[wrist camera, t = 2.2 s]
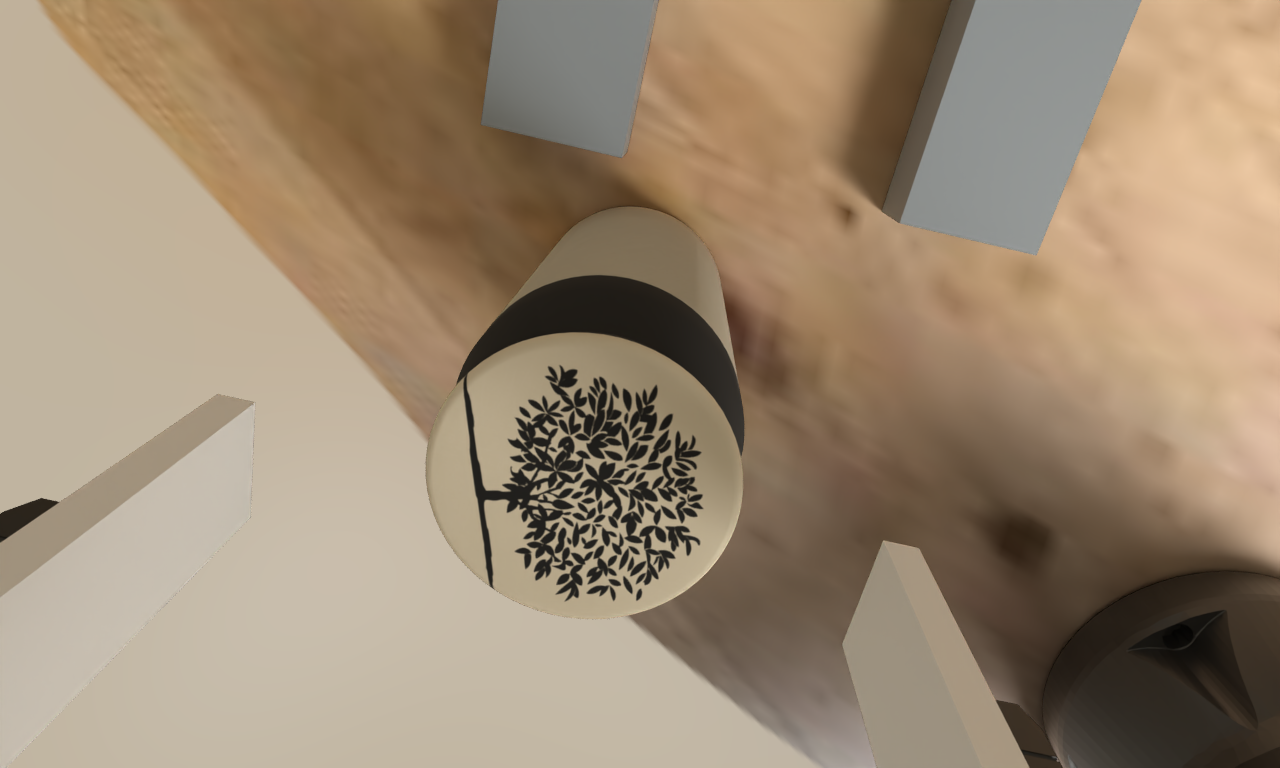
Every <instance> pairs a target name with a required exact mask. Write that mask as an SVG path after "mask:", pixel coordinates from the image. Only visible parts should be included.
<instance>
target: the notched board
mask: <svg viewBox="0 0 1280 768" xmlns="http://www.w3.org/2000/svg"><path fill="white" fill-rule="evenodd" d="M658 1H659V0H498V5H497V12H496V19H495V26H494V34H493V41H492V48H491V55H490V62H489V69H488V77H487V84H486V91H485V98H484V105H483V112H482V120H481V125H484V126H488V127H492V128H496V129H501V130H505V131H509V132H513V133H518V134H522V135H526V136H530V137H535V138H539V139H543V140H547V141H552V142H556V143H560V144H564V145H569V146H573V147H577V148H581V149H586V150H590V151H594V152H599V153H603V154H607V155H611V156H616V157H620V158H622V157H623V156H624V155H625V154H626V153H627V150H628V146H629V141H630V136H631V131H632V126H633V122H634V117H635V112H636V107H637V102H638V97H639V93H640V88H641V83H642V78H643V73H644V69H645V64H646V59H647V54H648V49H649V44H650V40H651V35H652V30H653V25H654V20H655V15H656V11H657V6H658ZM1140 2H1141V0H951V3H950V6H949V9H948V12H947V15H946V18H945V21H944V24H943V27H942V30H941V33H940V36H939V39H938V42H937V45H936V49H935V52H934V55H933V58H932V61H931V64H930V67H929V70H928V73H927V76H926V79H925V82H924V85H923V88H922V91H921V94H920V97H919V100H918V103H917V106H916V109H915V112H914V115H913V118H912V121H911V124H910V127H909V130H908V133H907V136H906V139H905V142H904V145H903V148H902V151H901V154H900V157H899V160H898V163H897V166H896V169H895V172H894V175H893V178H892V181H891V184H890V187H889V190H888V193H887V196H886V199H885V202H884V205H883V209H882V212H883V213H885V214H886V215H888V216H889V217H891V218H892V219H894V220H895V221H897V222H898V223H901V224H905V225H909V226H913V227H918V228H922V229H926V230H930V231H935V232H939V233H943V234H947V235H952V236H956V237H960V238H965V239H969V240H973V241H977V242H982V243H986V244H990V245H994V246H999V247H1003V248H1007V249H1011V250H1016V251H1020V252H1024V253H1028V254H1033V255H1037V253H1038V250H1039V248H1040V245H1041V243H1042V241H1043V238H1044V236H1045V233H1046V231H1047V228H1048V226H1049V224H1050V221H1051V219H1052V216H1053V214H1054V211H1055V209H1056V207H1057V204H1058V202H1059V199H1060V197H1061V194H1062V192H1063V190H1064V187H1065V185H1066V182H1067V180H1068V177H1069V175H1070V173H1071V170H1072V168H1073V165H1074V163H1075V160H1076V158H1077V156H1078V153H1079V151H1080V148H1081V146H1082V143H1083V141H1084V139H1085V136H1086V134H1087V131H1088V129H1089V126H1090V124H1091V122H1092V119H1093V117H1094V114H1095V112H1096V109H1097V107H1098V105H1099V102H1100V100H1101V97H1102V95H1103V92H1104V90H1105V88H1106V85H1107V83H1108V80H1109V78H1110V75H1111V73H1112V71H1113V68H1114V66H1115V63H1116V61H1117V58H1118V56H1119V53H1120V51H1121V49H1122V46H1123V44H1124V41H1125V39H1126V36H1127V34H1128V32H1129V29H1130V27H1131V24H1132V22H1133V19H1134V17H1135V15H1136V12H1137V10H1138V7H1139V5H1140Z"/></svg>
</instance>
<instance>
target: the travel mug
mask: <svg viewBox="0 0 1280 768" xmlns="http://www.w3.org/2000/svg"><path fill="white" fill-rule="evenodd" d="M743 443H744V414H743V406H742V401H741V395H740V389H739V384H738V378H737V372H736V367H735V361H734V355H733V349H732V344H731V338H730V332H729V327H728V321H727V315H726V310H725V304H724V298H723V293H722V287H721V281H720V277H719V272H718V269H717V266H716V264H715V261H714V259H713V257H712V255H711V253H710V252H709V250H708V248H707V247H706V245H705V244H704V243H703V241H702V240H701V239H700V238H699V237H698V235H697V234H696V233H694V232H693V231H692V230H691V229H690V228H689V227H688V226H686V225H685V224H684V223H682V222H681V221H679V220H677V219H676V218H674V217H672V216H670V215H668V214H666V213H663V212H660V211H657V210H653V209H650V208H644V207H633V206H628V207H617V208H611V209H607V210H603V211H600V212H598V213H595V214H593V215H591V216H589V217H587V218H585V219H583V220H582V221H580V222H579V223H577V224H576V225H575V226H573V227H572V228H571V229H570V230H569V231H568V232H567V233H566V234H565V235H564V236H563V237H562V238H561V239H560V241H559V242H558V243H557V244H556V246H555V247H554V248H553V249H552V251H551V252H550V253H549V254H548V255H547V257H546V258H545V259H544V260H543V262H542V263H541V264H540V265H539V267H538V268H537V269H536V270H535V272H534V273H533V274H532V275H531V276H530V278H529V279H528V280H527V281H526V283H525V284H524V285H523V286H522V288H521V289H520V290H519V291H518V293H517V294H516V295H515V296H514V298H513V299H512V300H511V301H510V302H509V304H508V305H507V306H506V307H505V309H504V310H503V311H502V312H501V314H500V315H499V316H498V317H497V319H496V320H495V321H494V322H493V323H492V325H491V326H490V327H489V328H488V330H487V331H486V332H485V333H484V335H483V336H482V337H481V338H480V340H479V341H478V342H477V344H476V345H475V346H474V348H473V349H472V351H471V352H470V354H469V356H468V358H467V359H466V361H465V363H464V365H463V368H462V370H461V372H460V375H459V378H458V381H457V384H456V387H455V388H454V389H453V390H452V392H451V393H450V394H449V396H448V397H447V399H446V400H445V402H444V404H443V405H442V407H441V409H440V411H439V413H438V415H437V417H436V419H435V422H434V425H433V428H432V431H431V434H430V438H429V442H428V447H427V455H426V483H427V491H428V495H429V500H430V504H431V507H432V510H433V513H434V516H435V519H436V521H437V523H438V525H439V528H440V530H441V531H442V533H443V535H444V537H445V539H446V540H447V542H448V544H449V545H450V546H451V548H452V549H453V551H454V552H455V554H456V555H457V556H458V557H459V558H460V559H461V561H462V562H463V563H464V564H465V565H466V566H467V567H468V568H469V569H470V570H471V571H472V572H473V573H474V574H475V575H476V576H477V577H479V578H480V579H481V580H482V581H483V582H485V583H486V584H487V585H489V586H490V587H492V588H493V589H495V590H496V591H497V592H499V593H501V594H503V595H504V596H506V597H508V598H509V599H511V600H513V601H516V602H518V603H520V604H522V605H524V606H527V607H530V608H532V609H535V610H538V611H541V612H545V613H549V614H553V615H558V616H563V617H570V618H578V619H605V618H615V617H622V616H627V615H632V614H636V613H639V612H643V611H646V610H649V609H652V608H654V607H657V606H659V605H661V604H664V603H665V602H667V601H669V600H671V599H673V598H675V597H677V596H678V595H680V594H681V593H683V592H684V591H686V590H687V589H689V588H690V587H691V586H692V585H694V584H695V583H696V582H698V581H699V580H700V579H701V578H702V577H703V576H704V575H705V574H706V573H707V572H708V571H709V570H710V568H711V567H712V566H713V565H714V564H715V563H716V561H717V560H718V559H719V557H720V556H721V554H722V553H723V551H724V550H725V548H726V546H727V544H728V542H729V541H730V539H731V537H732V534H733V532H734V529H735V527H736V524H737V521H738V517H739V514H740V509H741V503H742V497H743V468H742V462H741V455H742V450H743Z"/></svg>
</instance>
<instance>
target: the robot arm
mask: <svg viewBox="0 0 1280 768" xmlns="http://www.w3.org/2000/svg"><path fill="white" fill-rule="evenodd" d="M254 423H255V402H252V401H246V400H242V399H238V398H233V397H229V396H224V395H219V394H217V395H216V396H214V397H213V398H211V399H210V400H209V401H207V402H205V403H204V404H202V405H201V406H199V407H198V408H197V409H195V410H194V411H192V412H191V413H189V414H188V415H186V416H185V417H183V418H182V419H181V420H179V421H178V422H176V423H175V424H173V425H172V426H170V427H169V428H167V429H166V430H164V431H163V432H162V433H160V434H159V435H157V436H156V437H154V438H153V439H152V440H150V441H148V442H147V443H146V444H144V445H143V446H141V447H140V448H138V449H137V450H135V451H134V452H132V453H131V454H129V455H128V456H126V457H125V458H124V459H122V460H121V461H119V462H118V463H116V464H115V465H113V466H112V467H110V468H109V469H107V470H106V471H105V472H103V473H102V474H100V475H99V476H97V477H96V478H94V479H93V480H91V481H90V482H89V483H87V484H86V485H84V486H83V487H81V488H80V489H78V490H77V491H75V492H74V493H73V494H71V495H70V496H68V497H67V498H65V499H64V500H62V501H61V502H57V501H52V500H47V499H43V498H40V499H38V500H35V501H32V502H29V503H27V504H24V505H21V506H18V507H15V508H13V509H10V510H7V511H4V512H2V513H1V514H0V768H7V766H9V765H10V764H11V763H12V761H13V760H14V759H15V758H16V757H17V756H18V755H19V754H20V753H21V752H22V751H23V750H24V749H25V748H26V747H27V746H28V745H29V744H30V743H31V742H32V741H33V740H34V739H35V738H36V737H37V736H38V735H39V734H40V733H41V732H42V731H43V730H44V729H45V728H46V727H47V726H48V724H50V722H52V720H54V719H55V718H56V717H57V715H58V714H59V713H60V712H61V711H62V710H63V709H64V708H65V707H66V706H67V705H68V704H69V703H70V702H71V701H72V700H73V699H74V698H75V697H76V696H77V695H78V694H79V693H80V692H81V691H82V690H83V689H84V688H85V687H86V686H87V685H88V684H89V683H90V682H91V681H92V680H93V678H95V676H96V675H98V673H99V672H100V671H101V670H102V669H103V668H104V667H105V666H106V665H107V664H108V663H109V662H110V661H111V660H112V659H113V658H114V657H115V656H116V655H117V654H118V653H119V652H120V651H121V650H122V649H123V648H124V647H125V646H126V645H127V644H128V643H129V642H130V641H131V639H133V637H134V636H136V635H137V634H138V632H139V631H140V630H141V629H142V628H143V627H144V626H145V625H146V624H147V623H148V622H149V621H150V620H151V619H152V618H153V617H154V616H155V615H156V614H157V613H158V612H159V611H160V610H161V609H162V608H163V607H164V606H165V605H166V604H167V603H168V602H169V601H170V600H171V598H173V597H174V596H175V595H176V594H177V592H178V591H180V589H181V588H182V587H183V586H184V585H185V584H186V583H187V582H188V581H189V580H190V579H191V578H192V577H193V576H194V575H195V574H196V573H197V572H198V571H199V570H200V569H201V568H202V567H203V566H204V565H205V564H206V563H207V562H208V561H209V560H210V558H212V556H214V555H215V554H216V552H218V551H219V550H220V548H221V547H222V546H223V545H224V544H225V543H226V542H227V541H228V540H229V539H230V538H231V537H232V536H233V535H234V534H235V533H236V532H237V531H238V530H239V529H240V528H241V527H242V526H243V525H244V524H245V523H246V522H247V521H248V520H249V519H250V518H251V498H252V497H251V496H252V473H253V448H254ZM842 646H843V649H844V653H845V657H846V660H847V664H848V667H849V671H850V674H851V678H852V681H853V685H854V688H855V692H856V695H857V699H858V703H859V706H860V710H861V713H862V717H863V720H864V724H865V727H866V731H867V734H868V738H869V741H870V745H871V749H872V752H873V756H874V759H875V763H876V766H877V768H1280V579H1278V578H1274V577H1270V576H1266V575H1260V574H1255V573H1247V572H1232V571H1231V572H1206V573H1198V574H1192V575H1186V576H1181V577H1177V578H1173V579H1169V580H1166V581H1163V582H1159V583H1156V584H1154V585H1151V586H1148V587H1146V588H1143V589H1141V590H1139V591H1136V592H1134V593H1132V594H1130V595H1128V596H1126V597H1124V598H1122V599H1121V600H1119V601H1117V602H1115V603H1114V604H1112V605H1111V606H1109V607H1107V608H1106V609H1104V610H1103V611H1102V612H1100V613H1099V614H1098V615H1096V616H1095V617H1094V618H1093V619H1091V620H1090V621H1089V622H1088V623H1087V624H1086V625H1084V626H1083V627H1082V628H1081V629H1080V630H1079V631H1078V632H1077V633H1076V634H1075V636H1074V637H1073V638H1072V639H1071V640H1070V641H1069V643H1068V644H1067V645H1066V646H1065V648H1064V649H1063V651H1062V652H1061V654H1060V655H1059V657H1058V658H1057V660H1056V662H1055V664H1054V666H1053V668H1052V670H1051V672H1050V675H1049V677H1048V680H1047V683H1046V687H1045V691H1044V696H1043V722H1044V727H1045V731H1046V734H1047V737H1048V740H1049V741H1048V740H1047V738H1046V736H1045V734H1044V732H1043V731H1042V729H1041V728H1040V727H1039V726H1038V725H1037V724H1036V723H1035V722H1034V721H1033V720H1032V719H1031V718H1030V717H1029V716H1028V715H1027V714H1026V713H1025V711H1024V710H1023V709H1022V708H1021V707H1020V706H1019V705H1017V704H1013V703H1008V702H1003V701H999V700H995V698H994V696H993V694H992V692H991V690H990V688H989V686H988V684H987V682H986V680H985V678H984V676H983V674H982V672H981V670H980V668H979V666H978V664H977V662H976V661H975V659H974V657H973V655H972V653H971V651H970V649H969V647H968V645H967V643H966V641H965V639H964V637H963V635H962V633H961V631H960V629H959V627H958V625H957V623H956V621H955V619H954V617H953V615H952V613H951V611H950V609H949V607H948V605H947V603H946V601H945V599H944V597H943V595H942V593H941V591H940V589H939V587H938V585H937V583H936V581H935V579H934V577H933V575H932V573H931V571H930V569H929V567H928V565H927V563H926V561H925V559H924V557H923V555H922V553H921V551H920V549H919V548H916V547H912V546H907V545H903V544H898V543H894V542H889V541H884V540H883V542H882V545H881V547H880V550H879V552H878V555H877V557H876V560H875V563H874V565H873V568H872V570H871V573H870V575H869V578H868V580H867V583H866V585H865V588H864V590H863V593H862V595H861V598H860V600H859V603H858V605H857V608H856V611H855V613H854V616H853V618H852V621H851V623H850V626H849V628H848V631H847V633H846V636H845V638H844V641H843V643H842ZM1049 742H1050V743H1049ZM1050 744H1051V745H1050ZM1051 746H1052V747H1051ZM1052 748H1053V749H1052ZM1053 750H1054V751H1053ZM1055 753H1056V754H1055ZM1056 755H1057V756H1056ZM1057 757H1058V759H1059V761H1060V762H1061V763H1060V762H1057ZM1061 764H1062V765H1061ZM1062 766H1063V767H1062Z"/></svg>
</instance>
